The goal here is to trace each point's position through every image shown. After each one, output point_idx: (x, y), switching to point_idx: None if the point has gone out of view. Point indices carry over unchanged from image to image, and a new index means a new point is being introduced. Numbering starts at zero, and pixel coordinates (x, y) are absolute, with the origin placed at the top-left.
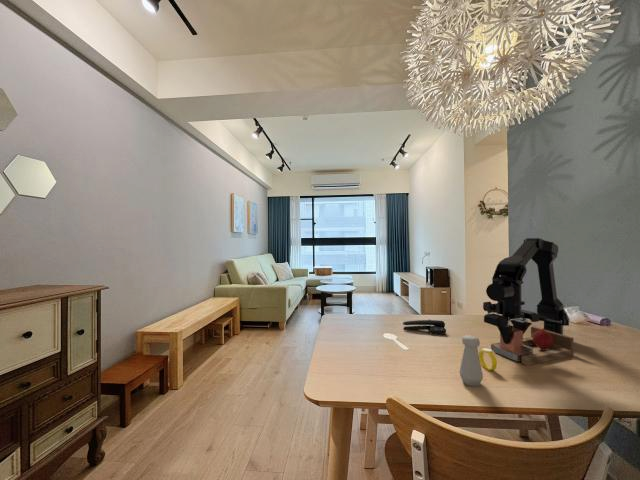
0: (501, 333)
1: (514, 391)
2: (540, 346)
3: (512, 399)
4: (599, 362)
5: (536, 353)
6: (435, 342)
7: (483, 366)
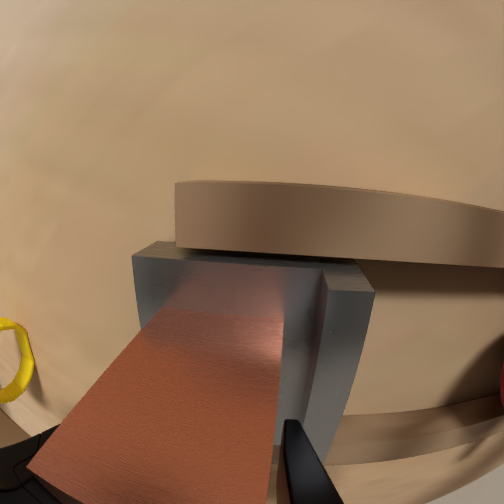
0: (43, 444)
1: (42, 427)
2: (502, 367)
3: (29, 427)
4: (488, 451)
5: (336, 447)
6: (16, 26)
7: (16, 331)
